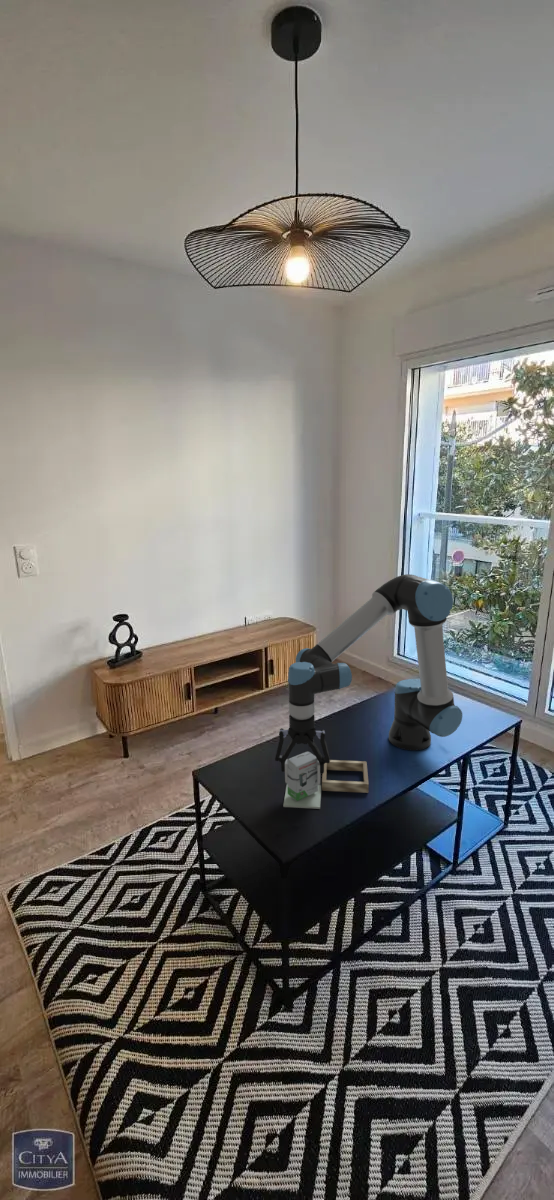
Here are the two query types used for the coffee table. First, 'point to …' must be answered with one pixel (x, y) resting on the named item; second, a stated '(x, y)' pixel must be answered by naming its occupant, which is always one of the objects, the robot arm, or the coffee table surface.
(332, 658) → the robot arm
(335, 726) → the coffee table surface
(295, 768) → the ink box
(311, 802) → the tile
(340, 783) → the pocket
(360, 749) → the coffee table surface
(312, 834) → the coffee table surface
